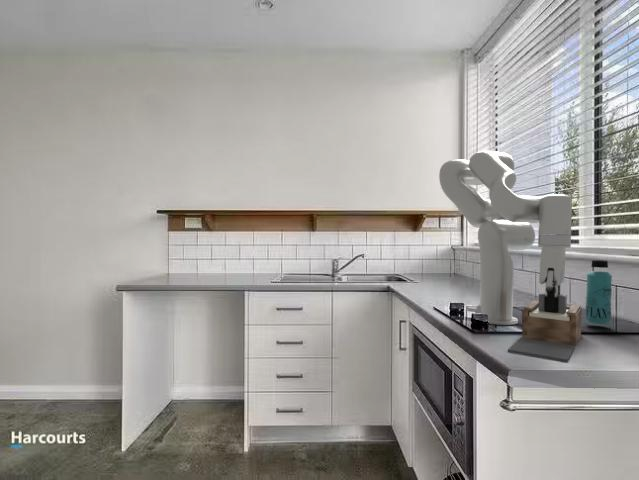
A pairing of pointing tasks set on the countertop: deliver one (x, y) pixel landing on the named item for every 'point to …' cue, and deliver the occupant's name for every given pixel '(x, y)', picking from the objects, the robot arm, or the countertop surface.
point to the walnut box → (552, 326)
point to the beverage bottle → (598, 294)
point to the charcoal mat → (542, 349)
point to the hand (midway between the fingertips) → (552, 310)
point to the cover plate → (558, 316)
